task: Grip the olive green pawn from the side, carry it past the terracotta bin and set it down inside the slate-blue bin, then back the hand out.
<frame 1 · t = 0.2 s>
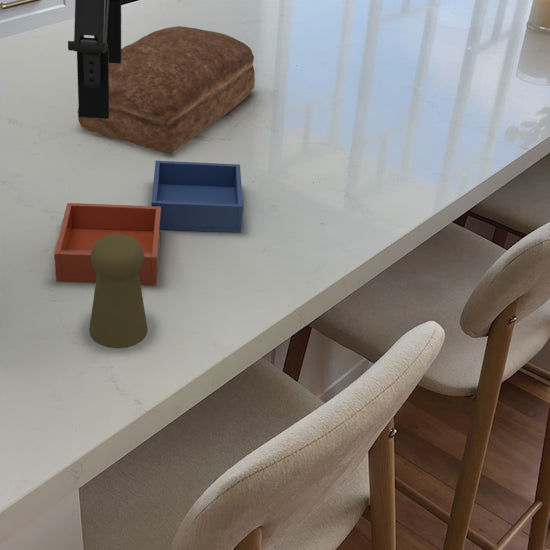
hand: (101, 87, 88), 23 cm above the kitchen island, tool pointing down, fingers open, 13 cm apart
terracotta bin: (110, 256, 105), on the kitchen island
blue bin: (196, 208, 115), on the kitchen island
olive green pawn: (118, 331, 93), on the kitchen island
bread: (172, 112, 140), on the kitchen island
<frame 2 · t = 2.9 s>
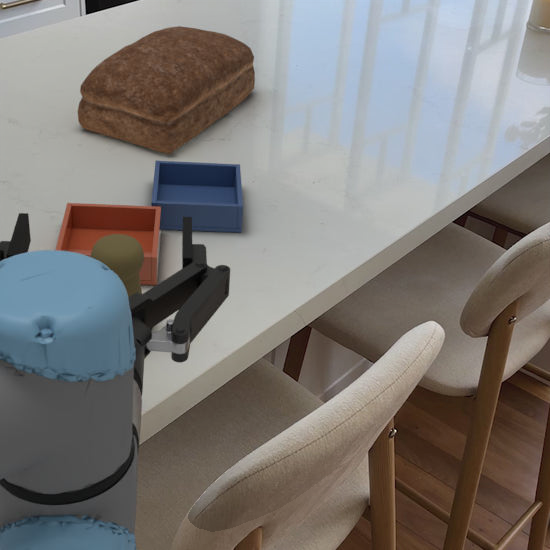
hand: (106, 228, 76), 18 cm above the kitchen island, tool horizontal, fingers open, 13 cm apart
nothing on the kitchen island moved.
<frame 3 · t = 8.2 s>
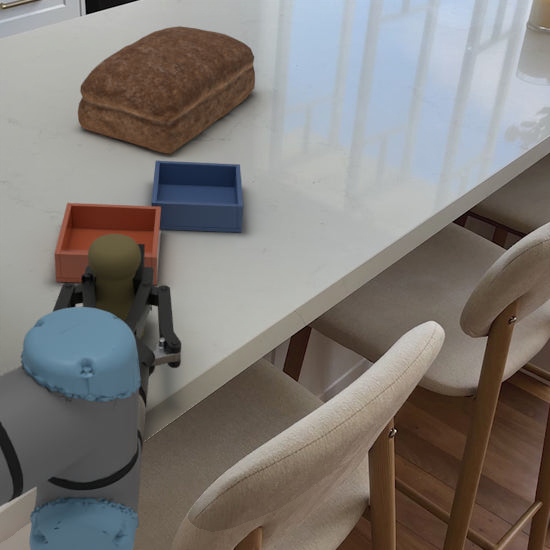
hand: (122, 254, 94), 6 cm above the kitchen island, tool horizontal, fingers closed on olive green pawn, 3 cm apart
olive green pawn: (116, 331, 93), on the kitchen island, touching gripper
everything else where it was.
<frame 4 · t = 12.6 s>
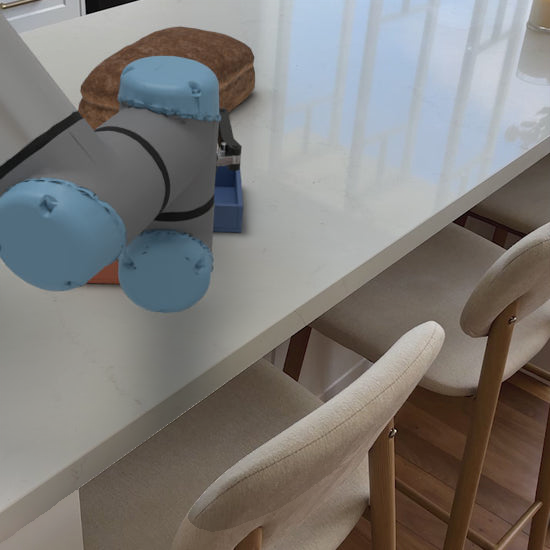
hand: (180, 89, 102), 18 cm above the kitchen island, tool horizontal, fingers closed on olive green pawn, 3 cm apart
olive green pawn: (174, 159, 101), point 12 cm above the kitchen island, touching gripper
everything else where it was.
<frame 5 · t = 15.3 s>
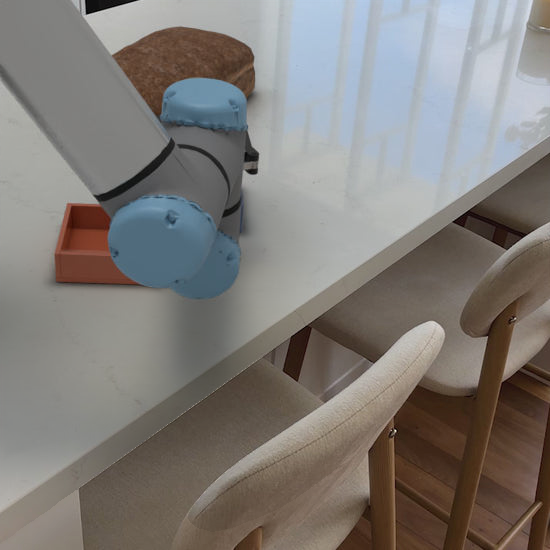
hand: (200, 101, 113), 13 cm above the kitchen island, tool horizontal, fingers closed on olive green pawn, 3 cm apart
olive green pawn: (195, 164, 112), point 6 cm above the kitchen island, touching gripper
everything else where it was.
when the fingers open (7 cm above the kitchen island, at t = 17.2 s): olive green pawn stays where it is, resting on blue bin.
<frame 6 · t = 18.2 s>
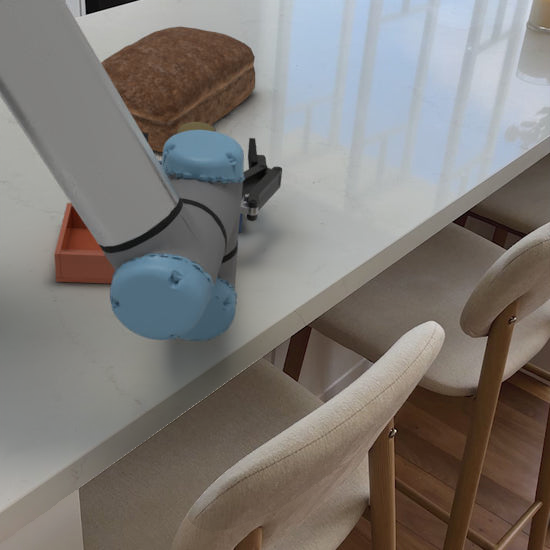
hand: (198, 144, 114), 8 cm above the kitchen island, tool horizontal, fingers open, 13 cm apart
olive green pawn: (194, 205, 115), resting on blue bin
everything else where it was.
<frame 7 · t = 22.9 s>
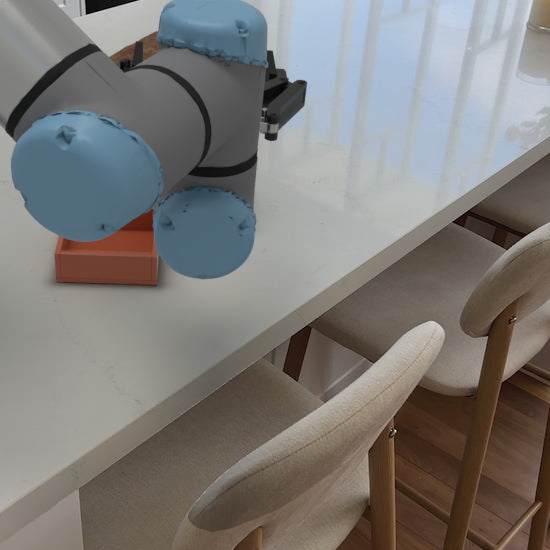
hand: (204, 58, 94), 24 cm above the kitchen island, tool horizontal, fingers open, 13 cm apart
nothing on the kitchen island moved.
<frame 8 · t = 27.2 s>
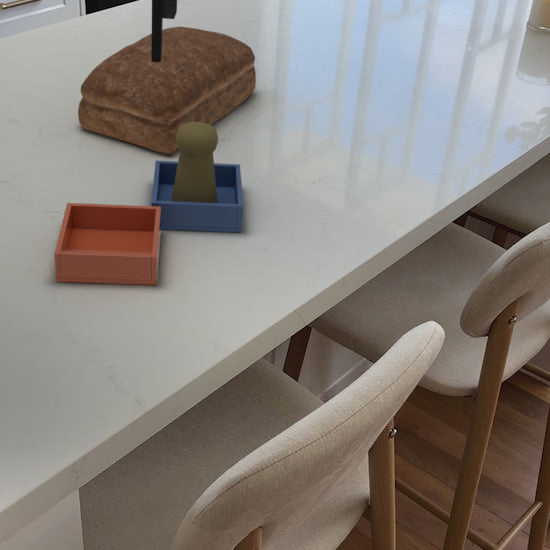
hand: (72, 51, 72), 32 cm above the kitchen island, tool pointing down, fingers open, 13 cm apart
nothing on the kitchen island moved.
at the end: olive green pawn inside the target area in the blue bin (0.3 cm from its centre), point 0.4 cm above the blue bin's base; olive green pawn tilted 0°; the gripper is holding nothing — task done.
